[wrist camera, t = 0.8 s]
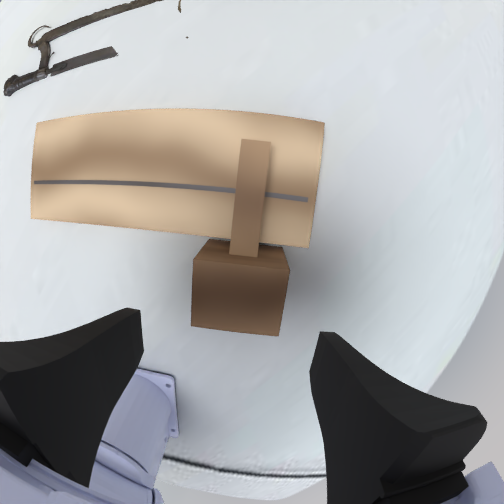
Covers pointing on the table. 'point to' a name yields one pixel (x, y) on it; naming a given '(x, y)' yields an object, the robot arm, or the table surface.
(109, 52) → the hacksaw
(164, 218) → the board
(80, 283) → the table surface
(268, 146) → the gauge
